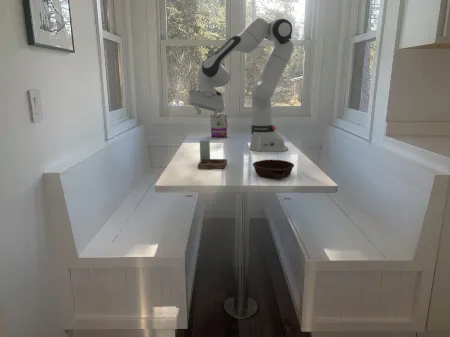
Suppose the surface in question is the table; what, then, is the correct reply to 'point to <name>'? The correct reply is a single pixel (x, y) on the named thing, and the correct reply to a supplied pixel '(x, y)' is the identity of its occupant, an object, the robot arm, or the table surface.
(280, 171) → the dish
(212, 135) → the candy bar box
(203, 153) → the sage ceramic canister
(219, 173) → the table surface
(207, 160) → the walnut tray
